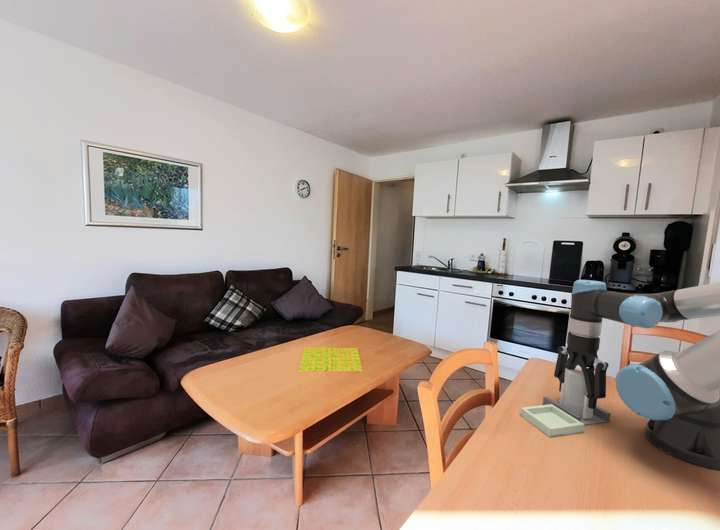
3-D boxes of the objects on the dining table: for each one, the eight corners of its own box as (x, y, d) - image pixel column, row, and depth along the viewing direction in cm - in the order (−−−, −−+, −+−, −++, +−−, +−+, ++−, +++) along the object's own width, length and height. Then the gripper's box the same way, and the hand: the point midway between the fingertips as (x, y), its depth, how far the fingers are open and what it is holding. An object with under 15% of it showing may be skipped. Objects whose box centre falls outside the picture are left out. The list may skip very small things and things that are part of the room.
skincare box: (584, 410, 91) (589, 371, 90) (589, 418, 87) (594, 377, 86) (560, 405, 93) (565, 367, 92) (565, 413, 89) (569, 373, 88)
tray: (583, 432, 81) (584, 424, 81) (549, 437, 78) (550, 429, 78) (551, 411, 90) (551, 404, 90) (520, 415, 88) (520, 407, 87)
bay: (609, 421, 86) (610, 413, 86) (576, 426, 83) (577, 417, 83) (573, 401, 97) (574, 393, 97) (542, 404, 94) (543, 396, 94)
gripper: (631, 345, 80) (620, 429, 82) (563, 324, 98) (556, 392, 100) (609, 346, 78) (598, 432, 80) (544, 324, 97) (537, 394, 98)
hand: (575, 410), depth 90 cm, fingers closed on skincare box, 7 cm apart
